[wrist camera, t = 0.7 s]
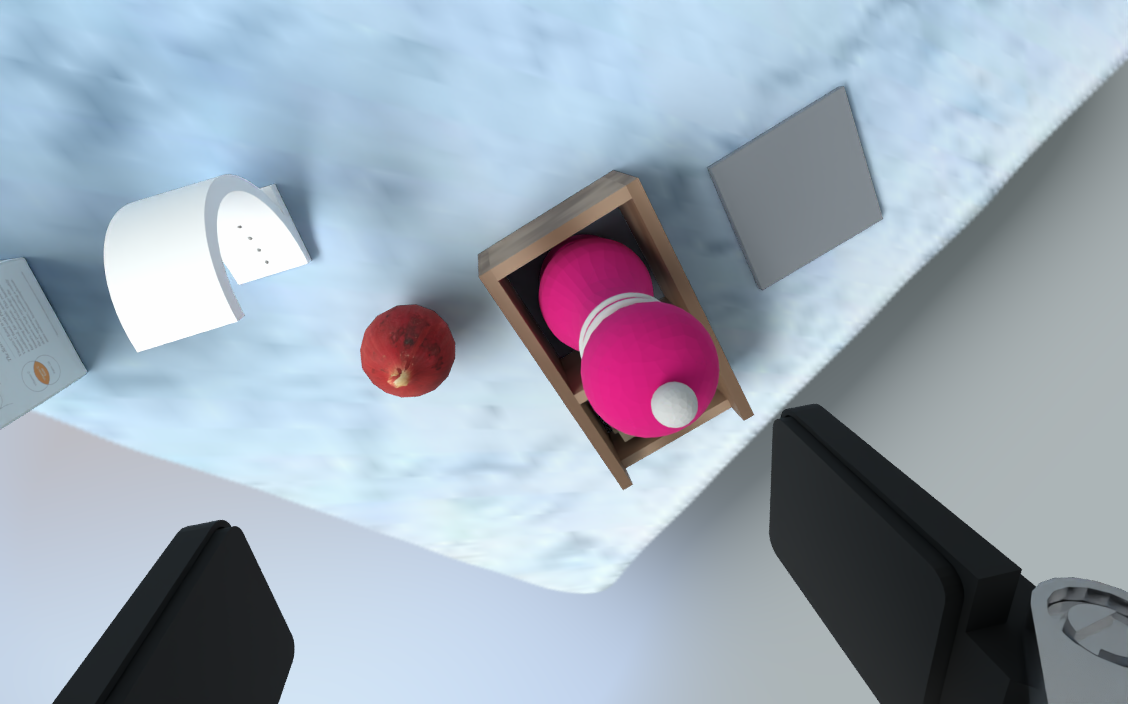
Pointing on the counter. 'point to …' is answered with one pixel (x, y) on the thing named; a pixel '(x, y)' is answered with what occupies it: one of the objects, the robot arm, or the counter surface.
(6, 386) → the small box
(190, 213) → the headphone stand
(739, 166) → the mat
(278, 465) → the counter surface
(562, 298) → the pepper mill
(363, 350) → the onion
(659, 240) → the box
